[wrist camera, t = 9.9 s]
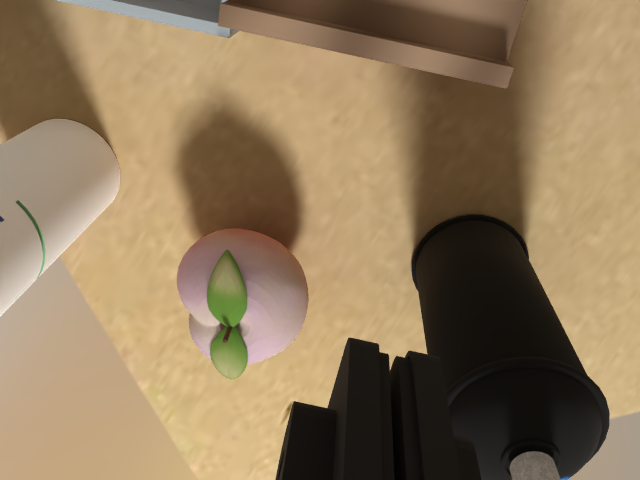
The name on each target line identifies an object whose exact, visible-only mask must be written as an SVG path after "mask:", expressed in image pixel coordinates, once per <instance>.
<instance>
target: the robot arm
mask: <svg viewBox="0 0 640 480" xmlns="http://www.w3.org/2000/svg"><path fill="white" fill-rule="evenodd" d="M276 480H482V479H481V474H480V470H479V465H478V460H477V455H476V450H475V447H474V444H473V442H472V441H471V440H470V439H467V438H463V437H458V436H454V435H453V429H452V424H451V418H450V412H449V406H448V400H447V394H446V388H445V382H444V376H443V370H442V364H441V360H440V358H439V357H436V356H432V355H427V354H423V353H418V352H413V351H408V353H407V354H406V356H405V358H403V357H399V356H396V357H395V359H394V362H393V364H392V367H391V370H390V369H389V355H388V354H385V353H381V352H379V345H378V344H377V343H372V342H368V341H363V340H359V339H354V338H348V340H347V343H346V346H345V350H344V353H343V357H342V360H341V363H340V367H339V370H338V374H337V377H336V381H335V384H334V388H333V391H332V395H331V398H330V401H329V405H328V408H323V407H318V406H314V405H309V404H304V403H300V402H295V401H294V402H293V405H292V409H291V413H290V417H289V421H288V425H287V428H286V433H285V437H284V441H283V446H282V450H281V455H280V460H279V465H278V470H277V475H276Z"/></svg>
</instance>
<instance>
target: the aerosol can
mask: <svg viewBox="0 0 640 480" xmlns="http://www.w3.org/2000/svg"><path fill="white" fill-rule="evenodd" d="M412 277H413V281H414V284H415V286H416V289H417V290H418V292H419V299H420V306H421V313H422V319H423V326H424V333H425V340H426V347H427V354H428V355H432V356H436V357H439V358H440V360H441V364H442V370H443V376H444V382H445V388H446V394H447V400H448V406H449V412H450V418H451V424H452V429H453V435H454V436H458V437H463V438H467V439H470V440H471V441H472V442H473V444H474V447H475V450H476V455H477V460H478V465H479V470H480V474H481V479H482V480H567V479H569V478H570V477H571V476H573V475H574V474H575V473H577V472H578V471H579V470H580V469H581V468H582V467H583V466H584V465H585V464H586V463H587V462H588V461H589V460H590V459H591V458H592V457H593V456H594V455H595V454H596V453H597V452H598V451H599V449H600V447H601V445H602V444H603V442H604V440H605V439H606V435H607V432H608V429H609V409H608V405H607V401H606V398H605V396H604V395H603V393H602V391H601V390H600V388H599V387H598V386H597V385H596V384H595V383H594V382H593V381H592V380H591V379H590V378H589V377H588V376H587V374H586V372H585V370H584V368H583V366H582V364H581V362H580V360H579V358H578V356H577V354H576V352H575V350H574V348H573V346H572V344H571V342H570V340H569V338H568V336H567V334H566V333H565V331H564V329H563V327H562V325H561V323H560V321H559V319H558V317H557V315H556V313H555V311H554V309H553V307H552V305H551V303H550V301H549V299H548V297H547V295H546V293H545V291H544V289H543V287H542V285H541V283H540V281H539V279H538V277H537V275H536V273H535V271H534V269H533V267H532V265H531V263H530V261H529V255H528V251H527V248H526V245H525V243H524V241H523V239H522V238H521V236H520V235H519V234H518V233H517V232H516V231H515V230H514V229H513V228H512V227H511V226H509V225H508V224H506V223H505V222H503V221H500V220H498V219H496V218H493V217H489V216H484V215H465V216H459V217H455V218H452V219H449V220H447V221H445V222H443V223H441V224H439V225H437V226H436V227H435V228H433V229H432V230H431V231H430V232H428V233H427V234H426V236H425V237H424V238H423V239H422V240H421V242H420V243H419V245H418V247H417V249H416V250H415V254H414V257H413V260H412Z"/></svg>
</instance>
